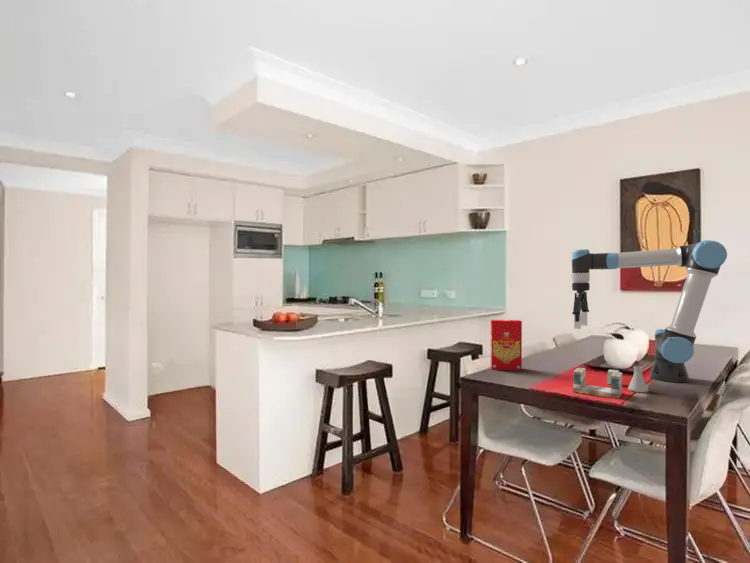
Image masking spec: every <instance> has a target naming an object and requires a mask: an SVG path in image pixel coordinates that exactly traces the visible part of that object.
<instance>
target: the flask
mask: <svg viewBox="0 0 750 563" xmlns="http://www.w3.org/2000/svg"><path fill="white" fill-rule="evenodd" d="M633 369H634V370H633V371H634V372H633V376H632V378H631V381H630V382H629V385H628V387H627V389H628V390H629V391H631V392H634V393H648V392H649V390H648V387H647V385H646V382H645V379H644V377H643V369H644V368H643V367H642V366H638V365H637V366H633Z"/></svg>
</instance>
